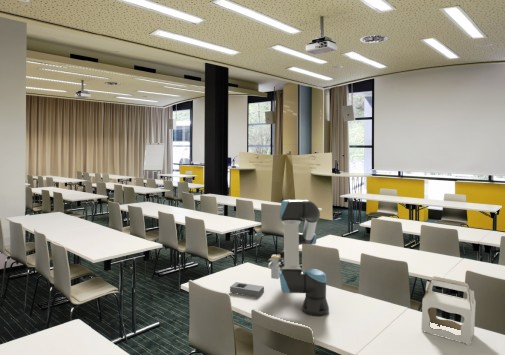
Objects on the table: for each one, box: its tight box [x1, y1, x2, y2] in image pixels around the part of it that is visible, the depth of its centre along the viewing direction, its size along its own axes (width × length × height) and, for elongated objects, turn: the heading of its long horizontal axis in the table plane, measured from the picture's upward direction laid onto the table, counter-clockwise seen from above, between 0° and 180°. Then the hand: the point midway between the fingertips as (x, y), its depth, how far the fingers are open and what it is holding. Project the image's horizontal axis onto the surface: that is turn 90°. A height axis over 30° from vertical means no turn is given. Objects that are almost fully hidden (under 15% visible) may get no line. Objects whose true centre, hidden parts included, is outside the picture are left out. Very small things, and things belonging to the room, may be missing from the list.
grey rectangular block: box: [229, 282, 265, 298], centre depth 243 cm, size 20×9×4 cm, turn 68°
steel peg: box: [270, 253, 281, 280], centre depth 235 cm, size 4×4×14 cm
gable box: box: [420, 276, 477, 345], centre depth 190 cm, size 22×13×28 cm, turn 52°
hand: (272, 266), depth 230 cm, fingers closed on steel peg, 4 cm apart
